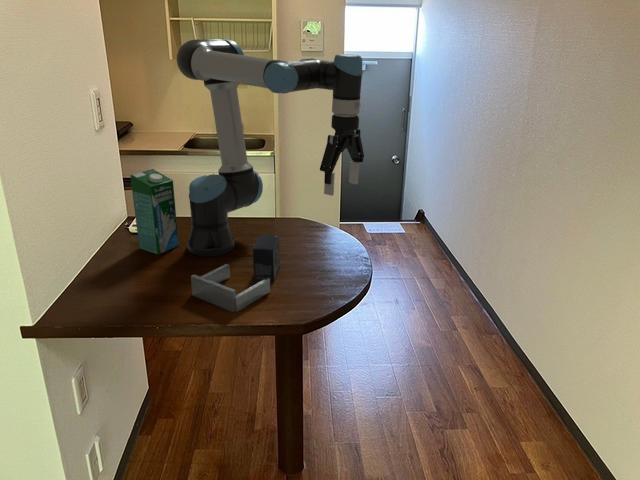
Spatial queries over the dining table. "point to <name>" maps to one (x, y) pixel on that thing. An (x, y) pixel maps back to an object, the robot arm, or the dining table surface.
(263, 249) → the small box
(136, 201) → the milk carton
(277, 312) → the dining table surface
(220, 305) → the grey u-shaped bracket
